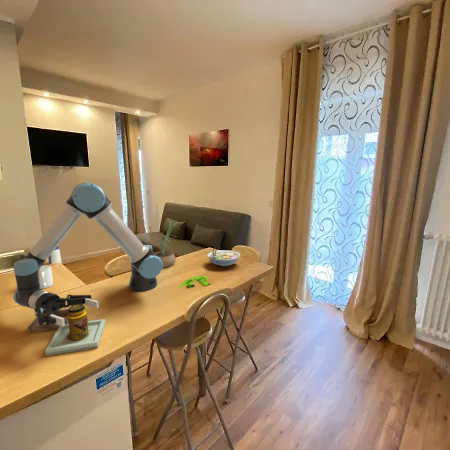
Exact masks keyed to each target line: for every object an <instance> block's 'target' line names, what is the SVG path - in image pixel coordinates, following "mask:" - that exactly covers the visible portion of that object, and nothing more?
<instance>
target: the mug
mask: <svg viewBox="0 0 450 450" xmlns="http://www.w3.org/2000/svg"><path fill="white" fill-rule="evenodd" d="M53 280H54V279H53V272H52V265H49V264H48V265H42V267H41V268H40V271H39V281H40V288H41V290H44V289H47V288H50V287H52V286H53V284H54V281H53Z"/></svg>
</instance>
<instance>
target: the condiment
mask: <svg viewBox="0 0 450 450" xmlns="http://www.w3.org/2000/svg"><path fill="white" fill-rule="evenodd" d="M85 306H86V305H85V304H76V305H73V306H69V307H68V308H67V309H68V311H69V313H68V314H69V315H67V316H68V322H69V332H68V333H67V335H66V337H65V338H64V340H63V341H62V343H70V342H81V341H87V339H88V337H89V335H90V333H91V331H92V329H90V330H88V321H89V320H88V314H87V311H86V307H85ZM62 343H61V344H62Z"/></svg>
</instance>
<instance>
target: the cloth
mask: <svg viewBox="0 0 450 450" xmlns="http://www.w3.org/2000/svg"><path fill="white" fill-rule="evenodd" d="M208 280H210V279H209V277H208V276H206V275H199V276H198V275H197V276H193V277H191V278H187V279H186V280H184V282H182V284H180V286H179V288H180V289H181V288H184V287H185V286H186V289H188V288H195V284H194V282H198V283H199V284H200V285H201V286H202V287H208V286H209V285H211V282H209V281H208Z"/></svg>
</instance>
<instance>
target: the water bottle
mask: <svg viewBox="0 0 450 450" xmlns="http://www.w3.org/2000/svg"><path fill="white" fill-rule="evenodd" d="M47 260H48V265H49V264H54V263H59V262H60V264H61V263H62V257H61V250H60V248H59V245H58V246H57V247H56V248H55V250H54V251H53V252H52V254H51V255H50V256H49V257H48V259H47Z"/></svg>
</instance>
